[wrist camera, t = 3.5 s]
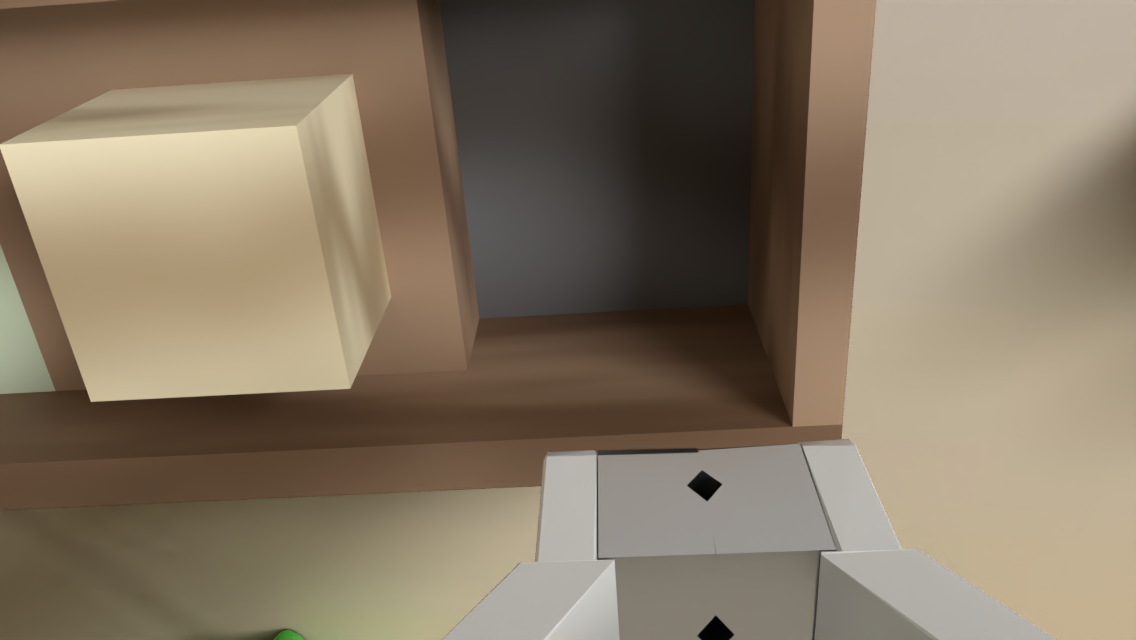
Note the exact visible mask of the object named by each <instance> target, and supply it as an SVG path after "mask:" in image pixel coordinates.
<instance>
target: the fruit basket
mask: <svg viewBox="0 0 1136 640" xmlns="http://www.w3.org/2000/svg"><path fill="white" fill-rule="evenodd" d="M274 640H305V639H304V638H303V637H302V636H300V635H299V634H297V633H295V632H293V631H291V630H284V631H282V632H280V633H279V634H278V635H277V636H276V637H275V638H274Z"/></svg>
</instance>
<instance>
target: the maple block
mask: <svg viewBox="0 0 1136 640" xmlns="http://www.w3.org/2000/svg"><path fill="white" fill-rule="evenodd" d="M0 150H1V152H2V155H3V158H4V161H5V163H6V166H7V169H8V172H9V175H10V177H11V180H12V183H13V186H14V189H15V191H16V194H17V197H18V200H19V203H20V205H21V208H22V211H23V214H24V216H25V219H26V222H27V225H28V228H29V230H30V233H31V236H32V239H33V242H34V244H35V247H36V250H37V253H38V256H39V258H40V261H41V264H42V267H43V269H44V272H45V275H46V278H47V281H48V283H49V286H50V289H51V292H52V295H53V297H54V300H55V303H56V306H57V309H58V311H59V314H60V317H61V320H62V322H63V325H64V328H65V331H66V334H67V336H68V339H69V342H70V345H71V348H72V350H73V353H74V356H75V359H76V361H77V364H78V367H79V370H80V373H81V375H82V378H83V381H84V384H85V387H86V389H87V392H88V395H89V398H90V401H91V402H97V401H117V400H137V399H157V398H176V397H196V396H216V395H236V394H256V393H275V392H295V391H315V390H335V389H350V388H351V386H352V384H353V382H354V379H355V377H356V375H357V373H358V370H359V368H360V366H361V364H362V362H363V359H364V357H365V355H366V353H367V350H368V348H369V346H370V344H371V341H372V339H373V337H374V335H375V332H376V330H377V328H378V326H379V323H380V321H381V319H382V317H383V314H384V312H385V310H386V308H387V305H388V303H389V301H390V299H391V293H390V287H389V282H388V276H387V270H386V264H385V258H384V253H383V247H382V241H381V235H380V230H379V224H378V218H377V212H376V206H375V201H374V195H373V189H372V183H371V178H370V172H369V166H368V160H367V155H366V149H365V143H364V137H363V131H362V126H361V120H360V114H359V108H358V103H357V97H356V91H355V85H354V80H353V74H343V75H328V76H313V77H298V78H283V79H269V80H254V81H239V82H224V83H209V84H194V85H179V86H164V87H149V88H134V89H119V90H110V91H108V92H106V93H104V94H102V95H100V96H98V97H96V98H94V99H92V100H90V101H88V102H86V103H84V104H82V105H80V106H78V107H75V108H73V109H71V110H69V111H67V112H65V113H63V114H61V115H59V116H57V117H55V118H53V119H51V120H49V121H47V122H45V123H43V124H40V125H38V126H36V127H34V128H32V129H30V130H28V131H26V132H24V133H22V134H20V135H18V136H16V137H14V138H12V139H10V140H8V141H5V142H3V143H1V144H0Z"/></svg>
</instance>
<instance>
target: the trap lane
mask: <svg viewBox="0 0 1136 640" xmlns="http://www.w3.org/2000/svg"><path fill="white" fill-rule="evenodd" d="M875 10H876V0H0V144H1V143H3V142H5V141H8V140H10V139H12V138H14V137H16V136H18V135H20V134H22V133H24V132H26V131H28V130H30V129H32V128H34V127H36V126H38V125H40V124H43V123H45V122H47V121H49V120H51V119H53V118H55V117H57V116H59V115H61V114H63V113H65V112H67V111H69V110H71V109H73V108H75V107H78V106H80V105H82V104H84V103H86V102H88V101H90V100H92V99H94V98H96V97H98V96H100V95H102V94H104V93H106V92H108V91H110V90H119V89H134V88H149V87H164V86H179V85H194V84H209V83H224V82H239V81H254V80H269V79H283V78H298V77H313V76H328V75H343V74H353V80H354V85H355V91H356V97H357V103H358V108H359V114H360V120H361V126H362V131H363V137H364V143H365V149H366V155H367V160H368V166H369V172H370V178H371V183H372V189H373V195H374V201H375V206H376V212H377V218H378V224H379V230H380V235H381V241H382V247H383V253H384V258H385V264H386V270H387V276H388V282H389V287H390V293H391V299H390V301H389V303H388V305H387V308H386V310H385V312H384V314H383V317H382V319H381V321H380V323H379V326H378V328H377V330H376V332H375V335H374V337H373V339H372V341H371V344H370V346H369V348H368V350H367V353H366V355H365V357H364V359H363V362H362V364H361V366H360V368H359V370H358V373H357V375H356V377H355V379H354V382H353V384H352V386H351V388H350V389H335V390H315V391H295V392H275V393H256V394H236V395H216V396H196V397H176V398H157V399H137V400H117V401H97V402H91V401H90V398H89V395H88V392H87V389H86V387H85V384H84V381H83V378H82V375H81V373H80V370H79V367H78V364H77V361H76V359H75V356H74V353H73V350H72V348H71V345H70V342H69V339H68V336H67V334H66V331H65V328H64V325H63V322H62V320H61V317H60V314H59V311H58V309H57V306H56V303H55V300H54V297H53V295H52V292H51V289H50V286H49V283H48V281H47V278H46V275H45V272H44V269H43V267H42V264H41V261H40V258H39V256H38V253H37V250H36V247H35V244H34V242H33V239H32V236H31V233H30V230H29V228H28V225H27V222H26V219H25V216H24V214H23V211H22V208H21V205H20V203H19V200H18V197H17V194H16V191H15V189H14V186H13V183H12V180H11V177H10V175H9V172H8V169H7V166H6V163H5V161H4V158H3V155H2V152H1V150H0V510H19V509H42V508H64V507H86V506H109V505H131V504H153V503H175V502H198V501H220V500H242V499H264V498H287V497H309V496H331V495H354V494H376V493H398V492H420V491H443V490H465V489H487V488H509V487H532V486H542V474H543V463H544V459H545V456H546V454H547V452H561V451H585V450H595V451H596V452H597V455H598V450H626V449H674V448H697V449H710V448H729V447H748V446H767V445H786V444H797V443H798V442H812V441H826V440H840V439H841V437H842V424H843V412H844V399H845V386H846V374H847V361H848V349H849V336H850V324H851V311H852V299H853V286H854V274H855V261H856V248H857V236H858V223H859V211H860V198H861V186H862V173H863V161H864V148H865V136H866V123H867V110H868V98H869V85H870V73H871V60H872V48H873V35H874V23H875Z"/></svg>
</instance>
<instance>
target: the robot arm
mask: <svg viewBox="0 0 1136 640" xmlns="http://www.w3.org/2000/svg"><path fill="white" fill-rule="evenodd" d="M442 640H1057V639H1055V638H1054V637H1052V636H1051V635H1049V634H1048V633H1046V632H1045V631H1043V630H1042V629H1040V628H1039V627H1037V626H1035V625H1034V624H1032V623H1031V622H1029V621H1028V620H1026V619H1025V618H1023V617H1022V616H1020V615H1019V614H1017V613H1016V612H1014V611H1012V610H1011V609H1009V608H1008V607H1006V606H1005V605H1003V604H1002V603H1000V602H999V601H997V600H996V599H994V598H993V597H991V596H990V595H988V594H986V593H985V592H983V591H982V590H980V589H979V588H977V587H976V586H974V585H973V584H971V583H970V582H968V581H967V580H965V579H964V578H962V577H960V576H959V575H957V574H956V573H954V572H953V571H951V570H950V569H948V568H947V567H945V566H944V565H942V564H941V563H939V562H938V561H936V560H934V559H933V558H931V557H930V556H928V555H927V554H925V553H924V552H922V551H921V550H919V549H902V548H901V545H900V543H899V541H898V539H897V536H896V534H895V532H894V530H893V527H892V525H891V523H890V521H889V518H888V516H887V514H886V512H885V509H884V507H883V505H882V503H881V500H880V498H879V496H878V494H877V491H876V489H875V487H874V485H873V482H872V480H871V478H870V476H869V474H868V471H867V469H866V467H865V465H864V462H863V460H862V458H861V456H860V453H859V451H858V449H857V447H856V444H855V443H853V442H852V441H851V440H849V439H840V440H826V441H812V442H798V443H797V444H786V445H767V446H748V447H729V448H710V449H697V448H674V449H626V450H598V455H597V452H596V451H595V450H585V451H561V452H547V454H546V456H545V459H544V463H543V474H542V486H541V497H540V509H539V520H538V531H537V543H536V554H535V562H526V563H519V564H518V565H517V566H516V567H515V568H514V569H513V570H512V571H511V572H510V573H509V574H508V575H507V576H506V577H505V578H504V579H503V580H502V581H501V582H500V583H499V584H498V585H497V586H496V587H495V588H494V589H493V590H492V591H491V592H490V593H489V594H488V595H487V596H486V597H485V598H484V599H483V600H482V601H481V602H480V603H479V604H478V605H477V606H475V607H474V608H473V609H472V610H471V611H470V612H469V613H468V614H467V615H466V616H465V617H464V618H463V619H462V620H461V621H460V622H459V623H458V624H457V625H456V626H455V627H454V628H453V629H452V630H451V631H450V632H449V633H448V634H447V635H446V636H445V637H444V638H443V639H442Z"/></svg>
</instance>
